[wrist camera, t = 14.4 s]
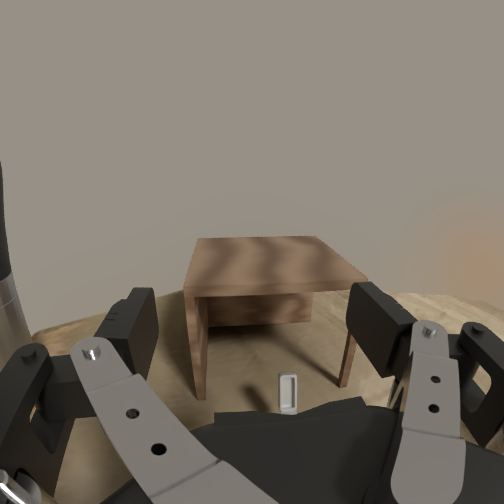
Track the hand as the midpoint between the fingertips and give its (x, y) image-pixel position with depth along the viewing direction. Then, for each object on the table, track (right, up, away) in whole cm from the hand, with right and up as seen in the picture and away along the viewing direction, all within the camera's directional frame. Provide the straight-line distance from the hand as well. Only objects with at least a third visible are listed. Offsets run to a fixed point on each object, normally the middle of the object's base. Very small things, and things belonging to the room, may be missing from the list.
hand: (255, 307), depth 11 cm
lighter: (+4, -19, +16) cm, 25 cm away
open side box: (+2, -14, +33) cm, 36 cm away
